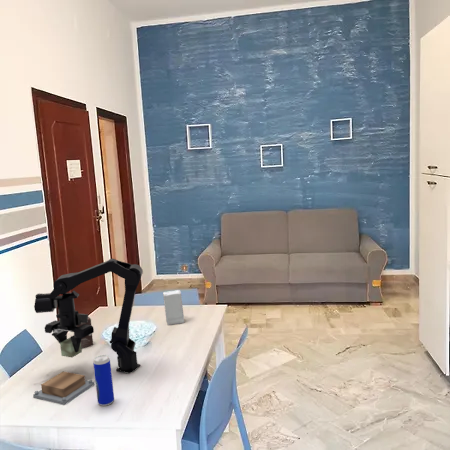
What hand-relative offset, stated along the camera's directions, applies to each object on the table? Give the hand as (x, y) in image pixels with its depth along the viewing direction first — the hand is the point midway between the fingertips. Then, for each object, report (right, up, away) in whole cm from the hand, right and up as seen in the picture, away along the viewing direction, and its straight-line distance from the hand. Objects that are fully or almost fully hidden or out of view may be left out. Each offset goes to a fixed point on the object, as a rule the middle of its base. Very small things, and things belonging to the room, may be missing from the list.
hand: (71, 351), depth 169 cm
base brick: (+1, -11, -11) cm, 15 cm away
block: (0, -1, 0) cm, 1 cm away
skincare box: (+33, 0, +48) cm, 58 cm away
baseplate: (+1, -11, -11) cm, 15 cm away
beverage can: (+18, -11, -20) cm, 29 cm away
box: (-3, -5, +27) cm, 28 cm away
